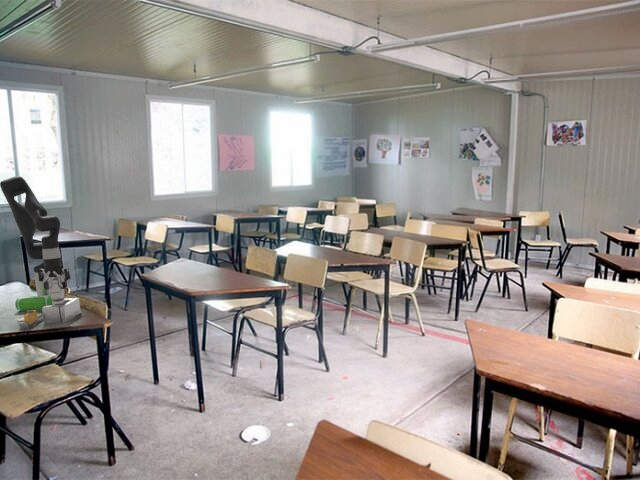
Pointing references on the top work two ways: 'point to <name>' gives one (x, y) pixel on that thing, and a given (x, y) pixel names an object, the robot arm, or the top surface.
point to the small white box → (56, 313)
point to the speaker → (33, 302)
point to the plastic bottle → (57, 292)
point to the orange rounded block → (30, 316)
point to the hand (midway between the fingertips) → (56, 289)
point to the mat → (23, 318)
